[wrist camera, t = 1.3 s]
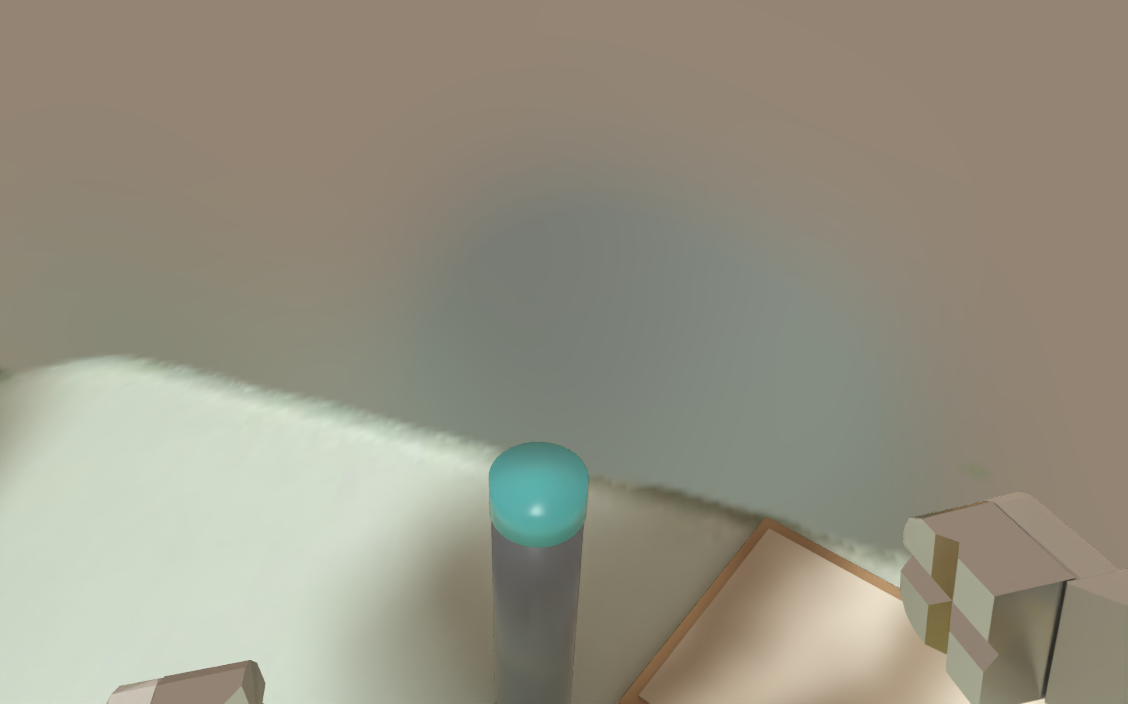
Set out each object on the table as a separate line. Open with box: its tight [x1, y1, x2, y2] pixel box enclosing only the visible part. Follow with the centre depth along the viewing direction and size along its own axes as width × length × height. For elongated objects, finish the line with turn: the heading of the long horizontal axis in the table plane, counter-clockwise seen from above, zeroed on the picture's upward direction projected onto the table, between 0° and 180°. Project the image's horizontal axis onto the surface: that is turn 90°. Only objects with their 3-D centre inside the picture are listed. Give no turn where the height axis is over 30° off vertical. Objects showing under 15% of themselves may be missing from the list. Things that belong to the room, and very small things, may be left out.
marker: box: [489, 442, 589, 704], centre depth 31 cm, size 3×3×14 cm
